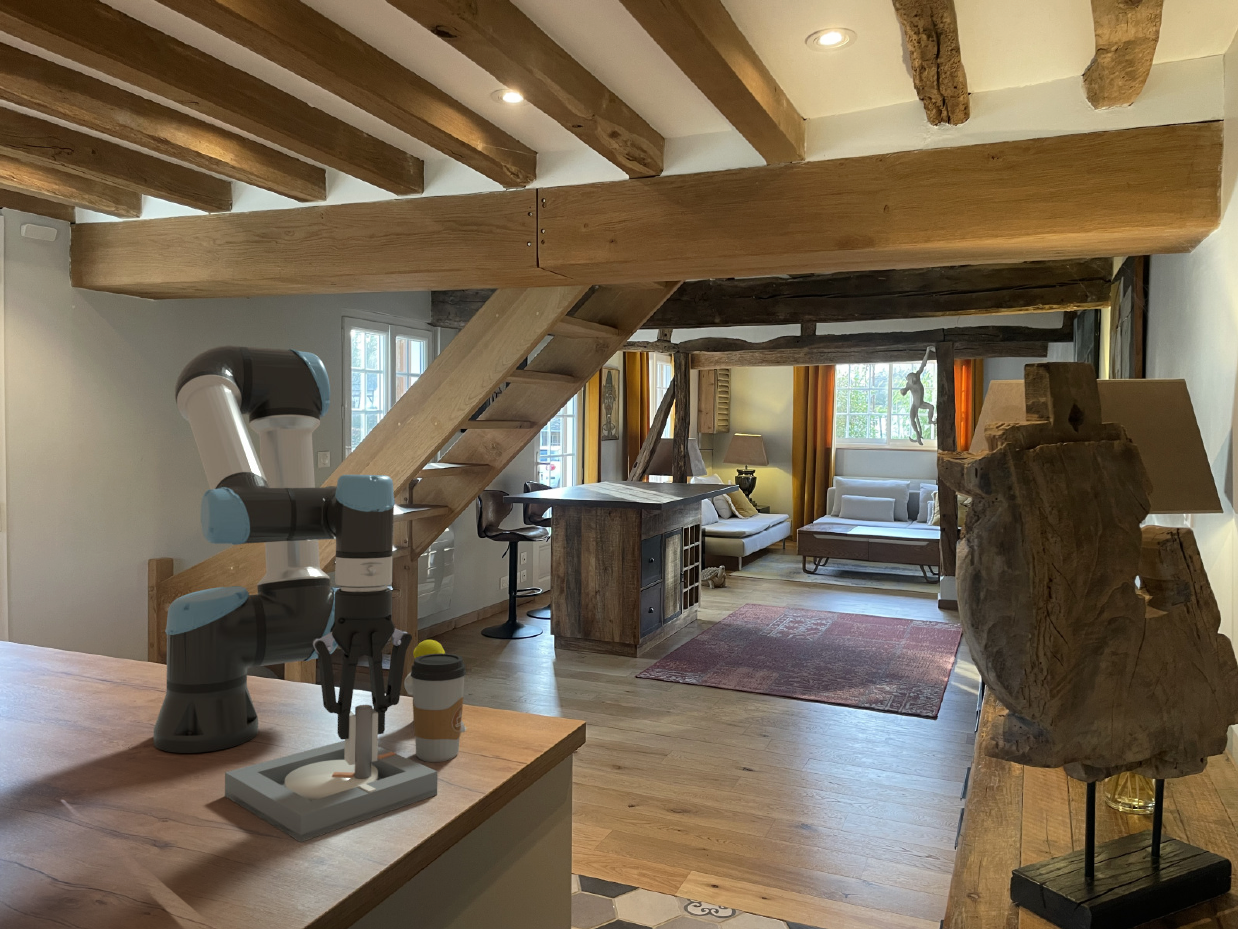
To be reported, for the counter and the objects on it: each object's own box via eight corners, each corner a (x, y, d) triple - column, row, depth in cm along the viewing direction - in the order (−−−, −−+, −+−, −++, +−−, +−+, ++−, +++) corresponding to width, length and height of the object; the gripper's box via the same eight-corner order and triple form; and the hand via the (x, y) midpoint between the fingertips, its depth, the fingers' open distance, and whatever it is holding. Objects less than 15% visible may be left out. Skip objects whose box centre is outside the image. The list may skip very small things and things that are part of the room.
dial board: (224, 796, 119) (225, 770, 118) (356, 758, 134) (356, 736, 133) (300, 842, 105) (300, 814, 105) (437, 794, 120) (437, 770, 120)
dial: (269, 804, 113) (270, 719, 113) (304, 770, 125) (304, 693, 125) (362, 806, 113) (363, 721, 113) (388, 772, 125) (389, 695, 125)
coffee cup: (452, 768, 130) (453, 667, 130) (399, 763, 132) (401, 663, 131) (473, 749, 138) (474, 654, 138) (423, 745, 140) (424, 651, 140)
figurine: (409, 743, 141) (411, 650, 140) (399, 726, 149) (400, 638, 149) (471, 736, 145) (473, 645, 144) (458, 720, 153) (459, 634, 153)
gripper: (311, 594, 113) (308, 778, 113) (427, 587, 121) (424, 759, 121) (299, 587, 120) (296, 761, 119) (410, 581, 127) (407, 744, 127)
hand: (360, 759), depth 120 cm, fingers closed on dial, 2 cm apart
